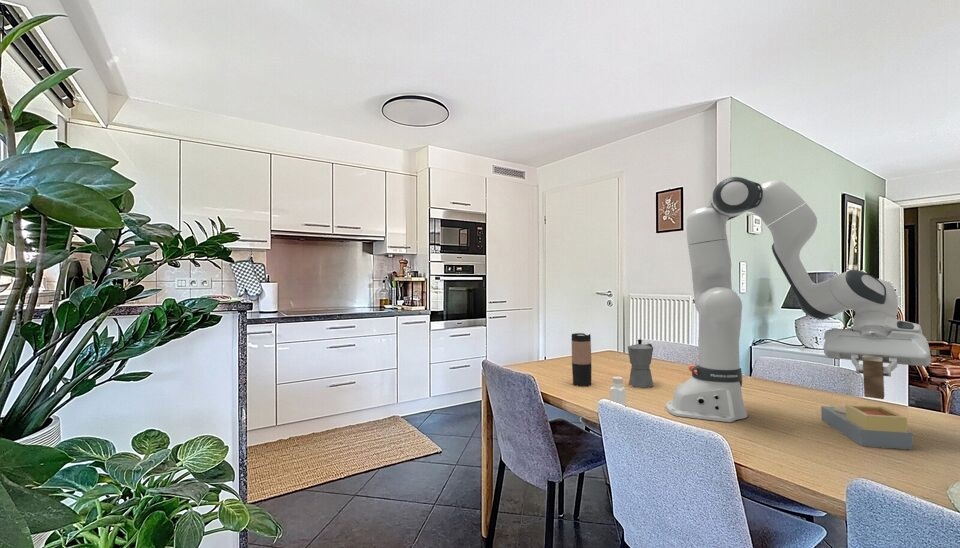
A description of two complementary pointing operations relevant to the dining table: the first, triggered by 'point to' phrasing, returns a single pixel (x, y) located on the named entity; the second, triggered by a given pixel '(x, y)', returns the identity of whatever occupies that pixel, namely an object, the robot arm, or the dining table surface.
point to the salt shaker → (618, 391)
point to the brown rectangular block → (873, 376)
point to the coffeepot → (640, 365)
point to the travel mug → (581, 359)
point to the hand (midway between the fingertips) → (873, 373)
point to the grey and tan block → (869, 426)
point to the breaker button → (874, 413)
